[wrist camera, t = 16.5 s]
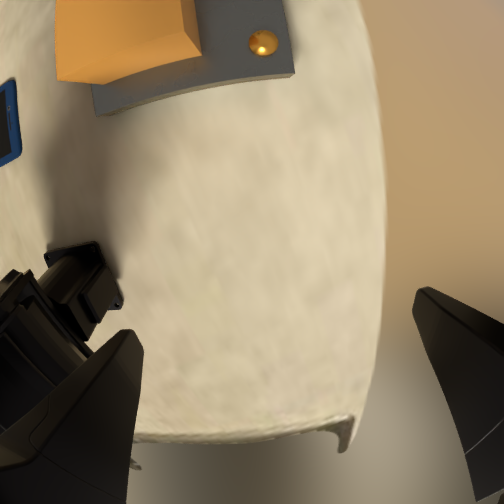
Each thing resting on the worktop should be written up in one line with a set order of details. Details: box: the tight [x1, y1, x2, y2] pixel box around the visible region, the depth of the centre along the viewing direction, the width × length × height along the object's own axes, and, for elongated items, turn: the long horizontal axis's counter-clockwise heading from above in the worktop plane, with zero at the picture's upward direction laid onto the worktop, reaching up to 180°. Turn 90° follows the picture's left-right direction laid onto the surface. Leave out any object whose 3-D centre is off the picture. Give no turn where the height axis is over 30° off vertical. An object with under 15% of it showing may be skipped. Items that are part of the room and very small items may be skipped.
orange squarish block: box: [55, 0, 202, 85], centre depth 9 cm, size 6×6×5 cm
